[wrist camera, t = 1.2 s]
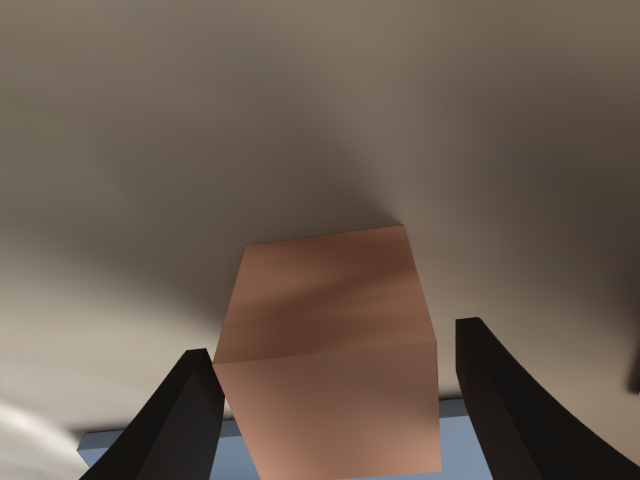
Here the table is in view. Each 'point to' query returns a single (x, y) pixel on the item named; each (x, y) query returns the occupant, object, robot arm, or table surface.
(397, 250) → the terracotta cube
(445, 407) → the board
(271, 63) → the table surface
